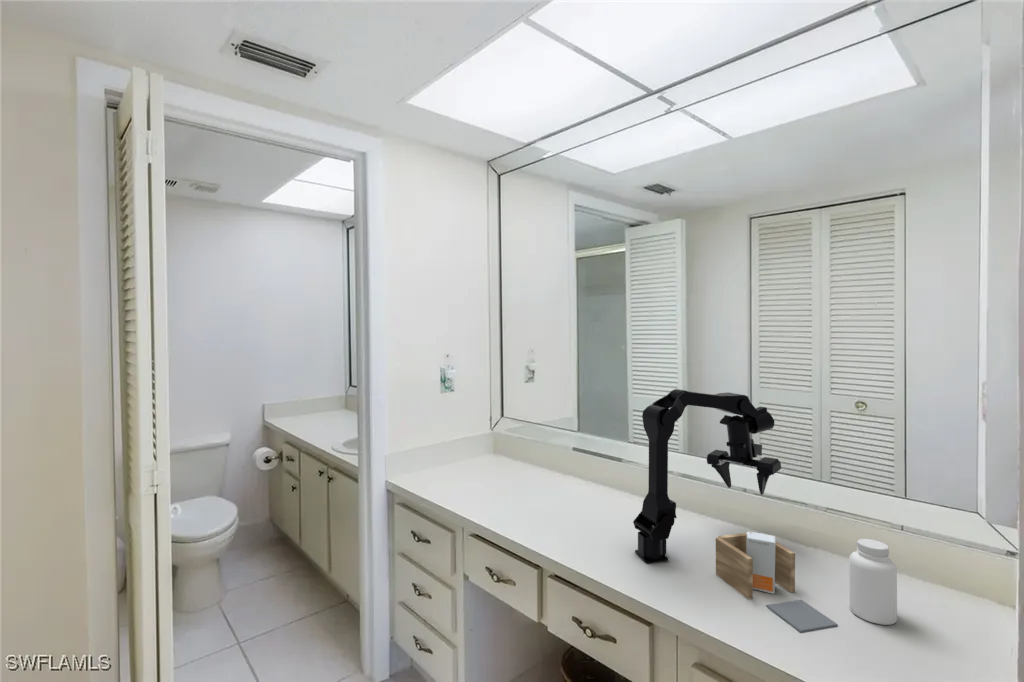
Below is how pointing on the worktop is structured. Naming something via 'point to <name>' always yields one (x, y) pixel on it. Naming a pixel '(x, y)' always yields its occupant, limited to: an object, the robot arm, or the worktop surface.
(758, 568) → the skincare box
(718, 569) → the oak bay
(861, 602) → the pill bottle
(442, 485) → the worktop surface
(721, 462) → the robot arm
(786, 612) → the slate pad
